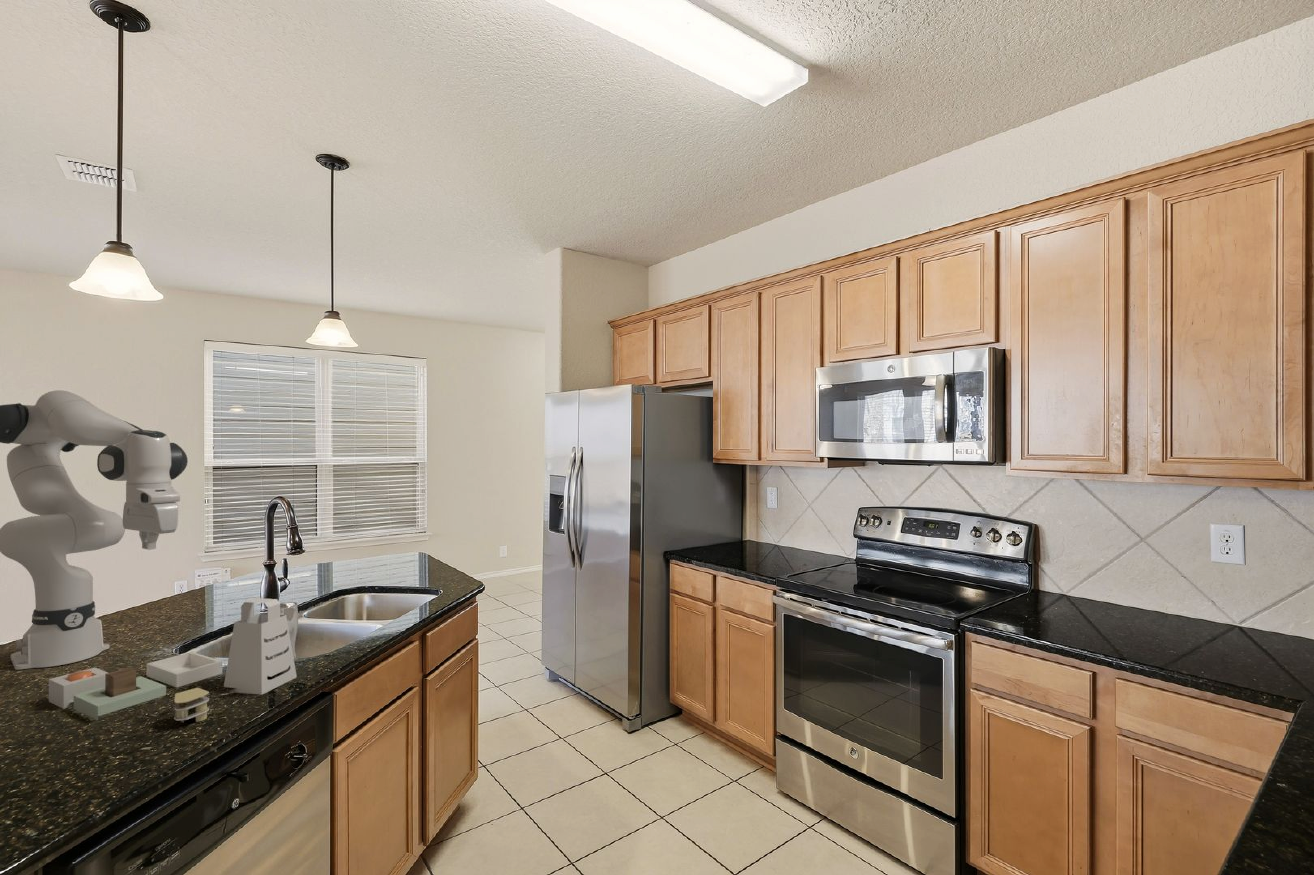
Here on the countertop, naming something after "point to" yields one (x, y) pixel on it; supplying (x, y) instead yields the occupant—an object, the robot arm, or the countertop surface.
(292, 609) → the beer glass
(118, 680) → the walnut block
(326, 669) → the countertop surface
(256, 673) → the grater
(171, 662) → the tote
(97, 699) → the pallet plate
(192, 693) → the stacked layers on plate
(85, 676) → the button
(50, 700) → the button housing
